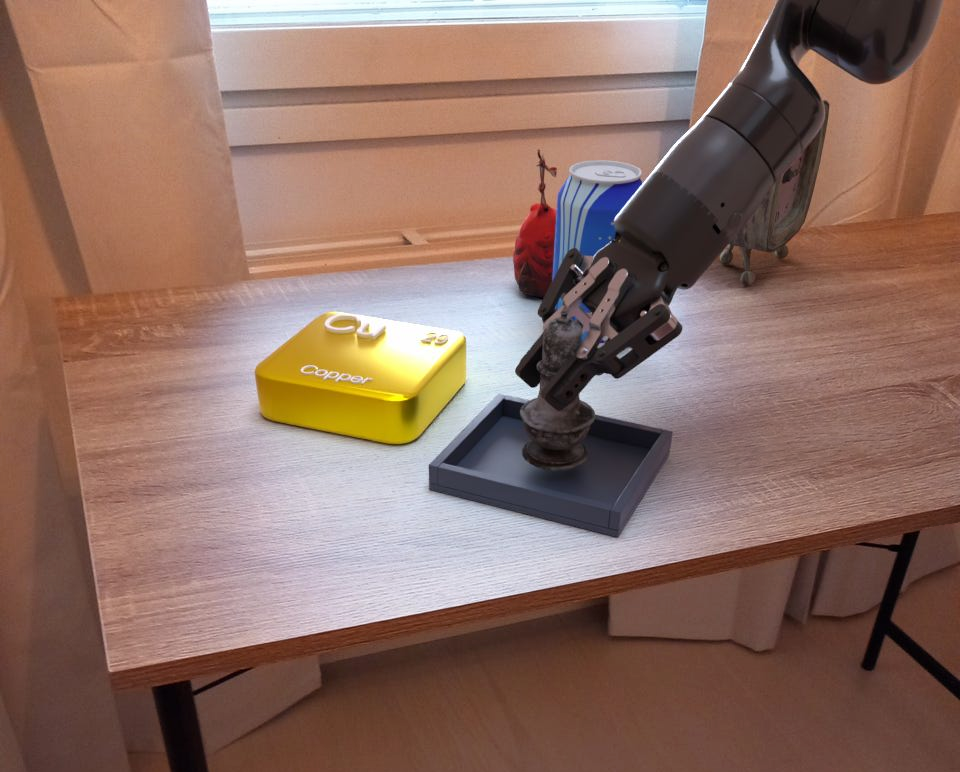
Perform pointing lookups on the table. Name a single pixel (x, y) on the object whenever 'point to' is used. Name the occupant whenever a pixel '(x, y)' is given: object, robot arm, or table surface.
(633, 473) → the tray
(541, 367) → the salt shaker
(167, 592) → the table surface
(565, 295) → the robot arm
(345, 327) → the element tile
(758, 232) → the tabletop clock
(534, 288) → the red rounded tall piece
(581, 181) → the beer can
